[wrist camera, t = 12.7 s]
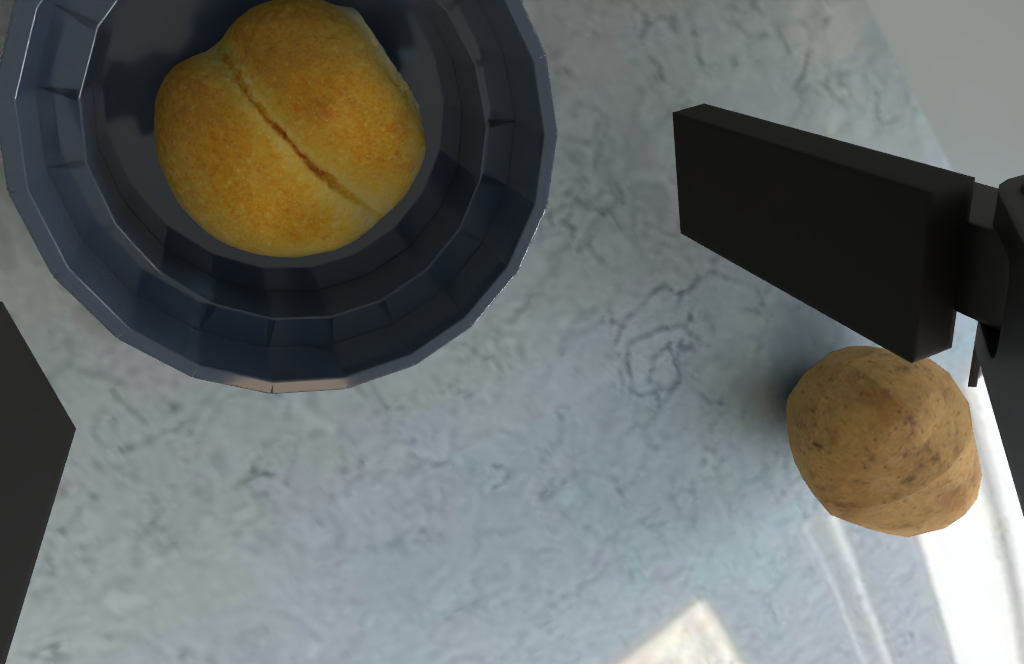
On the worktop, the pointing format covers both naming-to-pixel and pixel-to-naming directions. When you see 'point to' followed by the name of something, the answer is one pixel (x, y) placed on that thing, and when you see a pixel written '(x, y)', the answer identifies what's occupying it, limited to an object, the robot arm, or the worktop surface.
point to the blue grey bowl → (258, 278)
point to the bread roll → (289, 131)
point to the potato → (884, 441)
